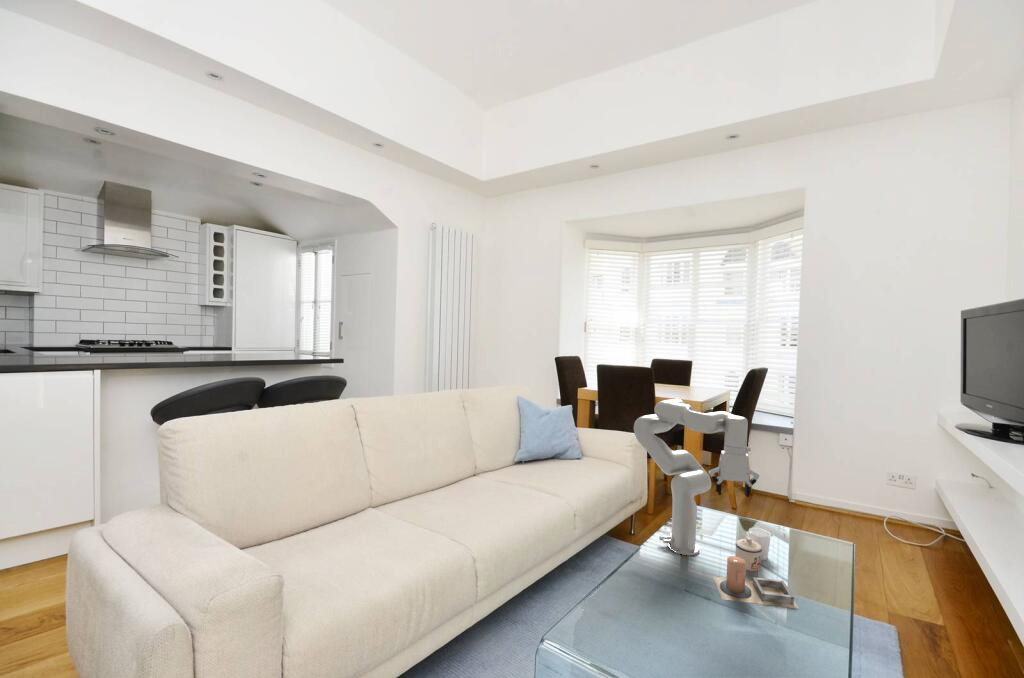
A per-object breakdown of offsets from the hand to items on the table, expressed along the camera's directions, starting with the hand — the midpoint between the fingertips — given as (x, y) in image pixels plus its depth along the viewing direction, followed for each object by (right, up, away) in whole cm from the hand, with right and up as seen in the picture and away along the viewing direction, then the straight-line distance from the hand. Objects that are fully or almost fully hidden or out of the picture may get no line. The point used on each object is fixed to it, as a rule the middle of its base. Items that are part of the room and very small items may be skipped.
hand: (732, 494), depth 180 cm
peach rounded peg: (-4, -29, -10) cm, 31 cm away
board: (+2, -31, -12) cm, 33 cm away
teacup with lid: (+10, -30, +7) cm, 33 cm away
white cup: (+17, -30, +15) cm, 38 cm away
